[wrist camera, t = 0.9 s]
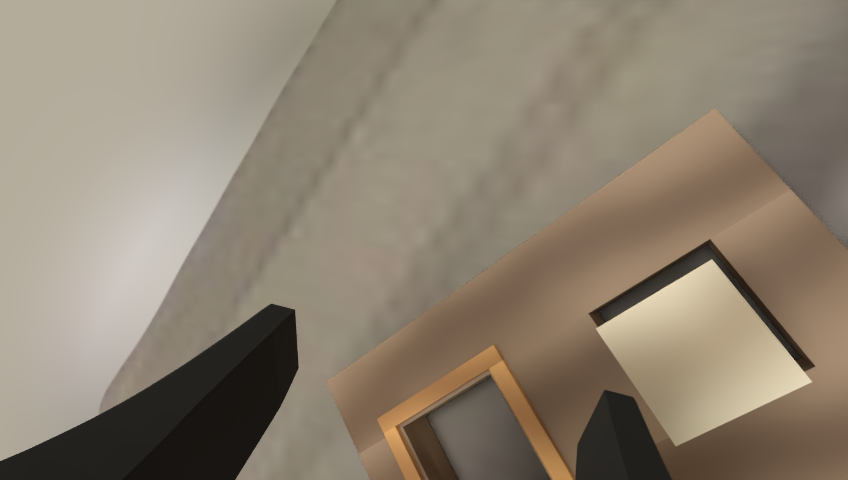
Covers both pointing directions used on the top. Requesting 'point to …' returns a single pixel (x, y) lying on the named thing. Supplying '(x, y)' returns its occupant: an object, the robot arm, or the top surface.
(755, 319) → the peg
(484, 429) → the top surface
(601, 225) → the wooden peg tray
